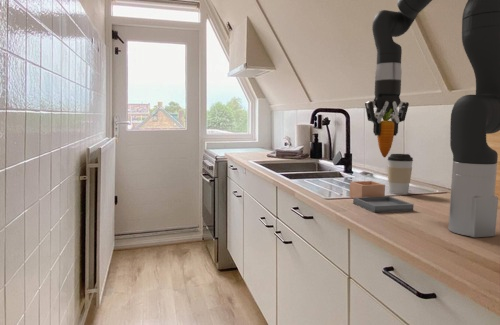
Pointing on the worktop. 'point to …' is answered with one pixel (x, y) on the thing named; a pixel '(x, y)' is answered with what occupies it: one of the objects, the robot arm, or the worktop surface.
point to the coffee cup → (399, 173)
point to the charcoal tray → (382, 204)
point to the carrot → (386, 134)
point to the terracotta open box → (366, 189)
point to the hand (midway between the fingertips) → (385, 135)
